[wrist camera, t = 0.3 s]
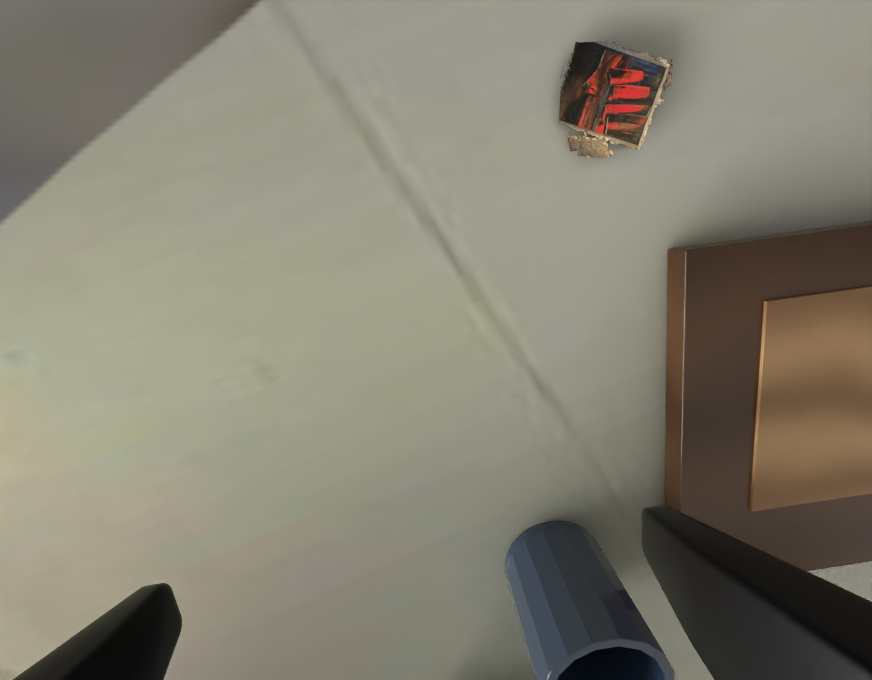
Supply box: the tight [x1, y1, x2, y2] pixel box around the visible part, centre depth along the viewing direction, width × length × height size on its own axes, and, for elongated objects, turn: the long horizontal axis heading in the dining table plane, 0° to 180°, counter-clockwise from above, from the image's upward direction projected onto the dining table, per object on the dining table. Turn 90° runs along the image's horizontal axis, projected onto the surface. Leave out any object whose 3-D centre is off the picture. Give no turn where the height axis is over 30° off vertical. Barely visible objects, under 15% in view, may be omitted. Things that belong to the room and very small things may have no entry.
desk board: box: [665, 221, 872, 571], centre depth 23 cm, size 20×16×2 cm
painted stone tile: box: [559, 41, 673, 158], centre depth 19 cm, size 5×5×1 cm
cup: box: [505, 521, 674, 680], centre depth 22 cm, size 6×6×8 cm
